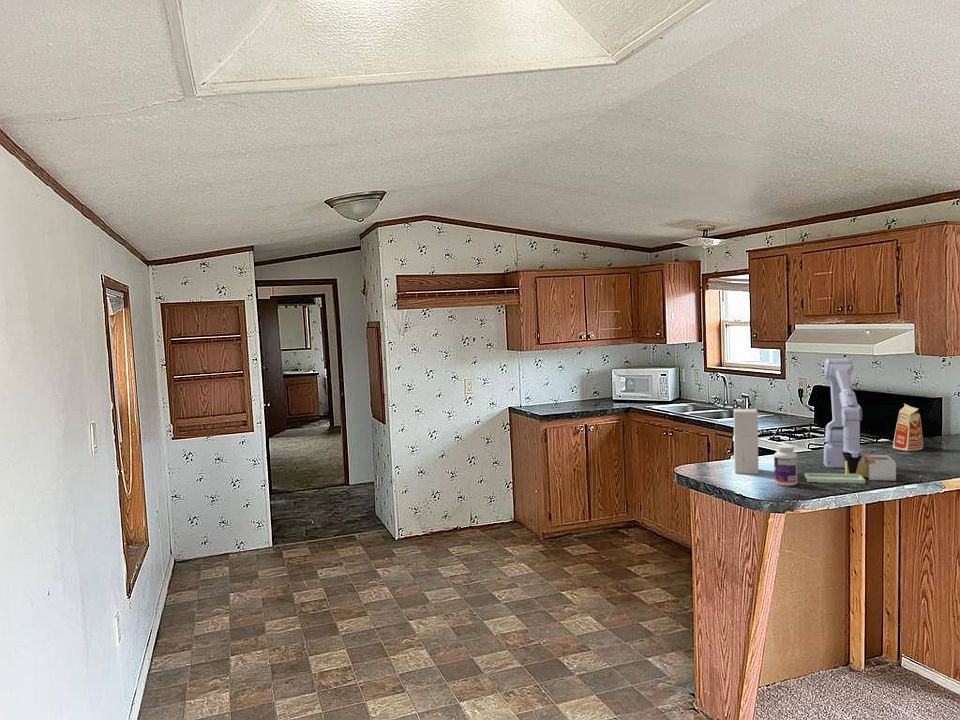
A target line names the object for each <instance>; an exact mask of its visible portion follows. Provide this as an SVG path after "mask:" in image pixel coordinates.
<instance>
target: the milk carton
mask: <svg viewBox="0 0 960 720" xmlns="http://www.w3.org/2000/svg"><path fill="white" fill-rule="evenodd" d="M903 405H904V406H903V407H902V408H901V409H899V411H898V417H897V422H896V426H895V431H894V438H893V442H892V449H895V450H901V451H907V452H908V451H920V450H923V449H924V440H923V429H922V420H921V414H920V412H919V411H918V410H919V408H918V407H914V406H910V405H909V404H906V403H903Z"/></svg>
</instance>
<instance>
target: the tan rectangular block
mask: <svg viewBox="0 0 960 720" xmlns="http://www.w3.org/2000/svg"><path fill="white" fill-rule="evenodd" d="M844 470H845V471H844V474H860V475H861V476H862V477H863V478H867V461H861V460H860V461H859V463H858V466H857V470H856V473H849V469H848V463H847V461H845V468H844Z"/></svg>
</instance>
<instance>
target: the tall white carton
mask: <svg viewBox="0 0 960 720" xmlns="http://www.w3.org/2000/svg"><path fill="white" fill-rule="evenodd" d="M758 415H759V413H758V410H757V408H734V409H733V469H734V473H735V474H743V475H744V474H746V475H747V474H748V475H758V474H759V426H758V425H759V421H758V420H759V417H758Z"/></svg>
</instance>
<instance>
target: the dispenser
mask: <svg viewBox="0 0 960 720" xmlns="http://www.w3.org/2000/svg"><path fill="white" fill-rule="evenodd" d="M861 455H862V456H861V460H862V461H867V477H866V478H867V479H868V480H869V481H889V482H890V481H894V482H895V481H897V462H896V461H895V460H894V459H893V458H892V457H891V456H889V455H888V454H868V453H862V454H861Z"/></svg>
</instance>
